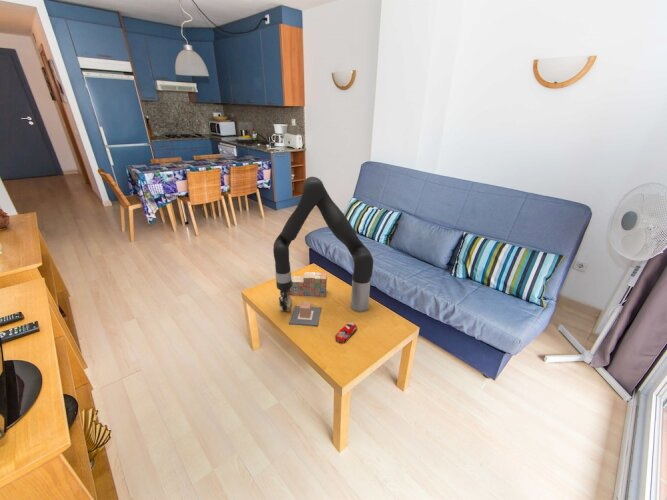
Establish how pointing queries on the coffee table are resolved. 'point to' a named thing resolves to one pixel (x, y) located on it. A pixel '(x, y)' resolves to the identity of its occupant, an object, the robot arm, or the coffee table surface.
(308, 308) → the block
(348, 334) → the race car
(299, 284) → the stack of blocks
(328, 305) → the coffee table surface
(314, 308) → the board
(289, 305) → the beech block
